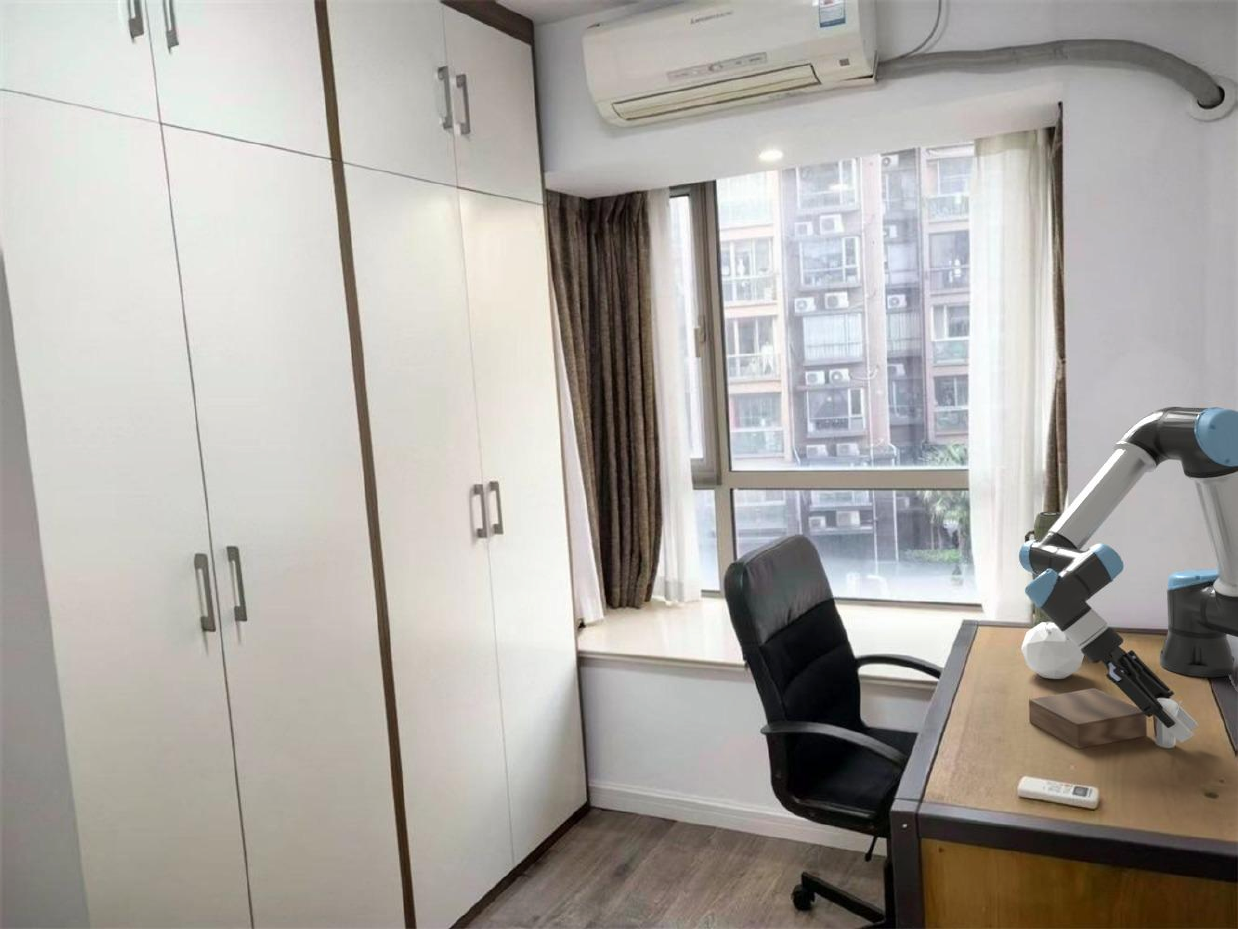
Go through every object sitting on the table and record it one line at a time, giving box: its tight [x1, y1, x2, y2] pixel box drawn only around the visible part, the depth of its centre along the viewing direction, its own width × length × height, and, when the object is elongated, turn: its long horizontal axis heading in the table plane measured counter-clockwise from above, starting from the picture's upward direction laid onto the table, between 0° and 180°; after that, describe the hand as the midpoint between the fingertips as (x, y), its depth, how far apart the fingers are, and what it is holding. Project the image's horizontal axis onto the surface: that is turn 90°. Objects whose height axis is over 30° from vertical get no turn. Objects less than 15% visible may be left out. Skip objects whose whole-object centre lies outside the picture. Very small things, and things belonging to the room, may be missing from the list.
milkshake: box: [1152, 698, 1183, 749], centre depth 172 cm, size 4×5×10 cm
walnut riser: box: [1028, 687, 1148, 750], centre depth 182 cm, size 16×14×5 cm
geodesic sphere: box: [1020, 622, 1085, 680], centre depth 211 cm, size 14×14×14 cm
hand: (1189, 733), depth 170 cm, fingers closed on milkshake, 5 cm apart
